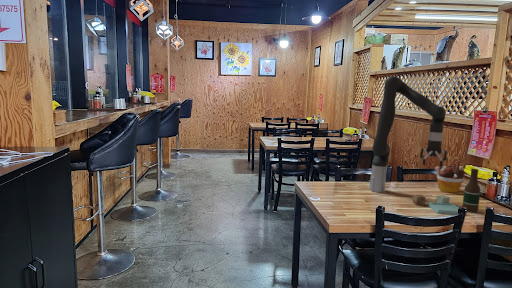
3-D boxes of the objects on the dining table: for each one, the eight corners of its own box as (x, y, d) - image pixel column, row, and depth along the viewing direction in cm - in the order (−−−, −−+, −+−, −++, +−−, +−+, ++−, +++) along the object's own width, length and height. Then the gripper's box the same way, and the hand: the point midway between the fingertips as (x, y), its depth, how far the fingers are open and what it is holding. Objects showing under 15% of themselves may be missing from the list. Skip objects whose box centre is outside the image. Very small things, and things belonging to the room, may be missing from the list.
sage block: (441, 206, 203) (442, 197, 202) (435, 203, 208) (436, 195, 207) (449, 205, 204) (450, 197, 204) (442, 203, 209) (443, 195, 208)
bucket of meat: (452, 195, 225) (456, 165, 222) (428, 189, 239) (431, 161, 236) (469, 192, 235) (472, 163, 232) (445, 186, 249) (448, 158, 246)
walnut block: (416, 205, 203) (416, 197, 203) (412, 202, 208) (413, 194, 208) (424, 205, 203) (425, 197, 202) (421, 203, 208) (422, 195, 207)
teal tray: (437, 213, 190) (438, 210, 189) (427, 205, 203) (427, 202, 203) (464, 214, 189) (464, 211, 188) (451, 206, 202) (452, 203, 202)
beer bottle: (471, 213, 191) (477, 171, 188) (458, 209, 198) (463, 168, 195) (481, 212, 194) (486, 170, 191) (467, 207, 201) (472, 167, 198)
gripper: (421, 139, 208) (419, 165, 211) (448, 141, 202) (445, 168, 205) (422, 137, 215) (419, 163, 217) (448, 140, 209) (445, 166, 211)
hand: (432, 166), depth 211 cm, fingers open, 8 cm apart
